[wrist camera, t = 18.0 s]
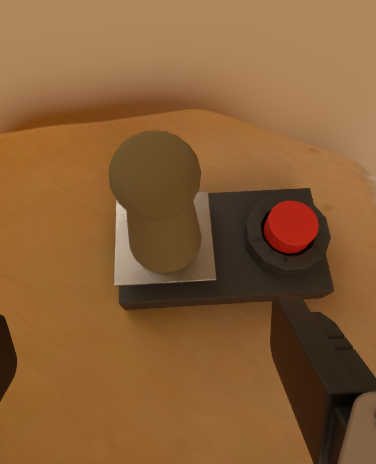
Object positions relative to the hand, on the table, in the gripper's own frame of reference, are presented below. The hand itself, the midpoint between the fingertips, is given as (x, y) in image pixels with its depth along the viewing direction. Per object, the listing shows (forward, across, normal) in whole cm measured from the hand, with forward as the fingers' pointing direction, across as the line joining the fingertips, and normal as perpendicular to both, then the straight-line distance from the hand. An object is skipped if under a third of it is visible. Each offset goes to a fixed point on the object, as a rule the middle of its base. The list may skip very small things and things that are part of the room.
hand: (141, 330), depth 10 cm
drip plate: (+18, 0, +4) cm, 18 cm away
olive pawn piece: (+17, 0, +4) cm, 18 cm away
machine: (+21, -5, +7) cm, 23 cm away
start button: (+18, -10, +4) cm, 21 cm away
